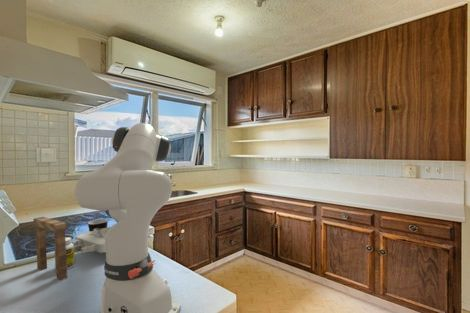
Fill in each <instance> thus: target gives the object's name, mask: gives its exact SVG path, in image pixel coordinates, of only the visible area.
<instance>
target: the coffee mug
mask: <svg viewBox="0 0 470 313" xmlns="http://www.w3.org/2000/svg"><path fill="white" fill-rule="evenodd" d="M108 222H109V221H108V219H107V218H106V219H105V218H99V219H93V220H91V221H89V222H87V225H88V226H87V227H88V232H89V231H94V229H96V228H107V227H108Z"/></svg>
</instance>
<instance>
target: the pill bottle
mask: <svg viewBox="0 0 470 313" xmlns="http://www.w3.org/2000/svg"><path fill="white" fill-rule="evenodd" d="M65 243H66V266H67V270H70V269H72V268H73V267H74V266H75V263H76V262H75V247H74V245H73V244H72V237H69V236H68V237H66V236H65ZM54 266H55V270H56V255H55V254H54Z"/></svg>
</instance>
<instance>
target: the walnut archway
mask: <svg viewBox="0 0 470 313" xmlns="http://www.w3.org/2000/svg"><path fill="white" fill-rule="evenodd" d="M33 226H35V227H34V228H35V248H36V266H37V267H36V268H37V270H39V271H43V270H46V269H47V268H48V260H47V257H48V256H47V239H46V234H47V233H46V230H49V231H52V232H54V256H55V255H56V269H55V273H56V279H57V280H60V281H62V280H65V279H68V272H67V271H68V269H67V266H66V243H65V238H66V231H67V222H64V221H60V220H55V219H53V218H48V217H44V216H41V217H36V218H35V217H34V218H33Z"/></svg>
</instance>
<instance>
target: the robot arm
mask: <svg viewBox="0 0 470 313" xmlns="http://www.w3.org/2000/svg"><path fill="white" fill-rule="evenodd" d="M111 144H112V149H113V150H114V151H115V152H116V154H115V156H114V157H112V158H111V159H110V160H108V161H107V162H106V163H104V165H102V166H100V167H98V168H97V169H95V170H93V171H90V172H88V173H85V174H83V175H81V177H80V178H79V179H78V180H77V182H76V184H75V187H74V192H73V193H74V199H75V201H76V203H77V204H78V205H79V207H80V208H83V209H87V210H95V211H105V214H106V215H107V216H108V217H109V218H111V219H113V220H114V221H115V222H116V223H115V224H113V225H111V226H107V228H96V229H94V231H89V230H88V231H87V232H84V233H80V234H77V235H76V236H75V238H74V241H73V242H72V241H71V243H72V244H73V245H74V248H75V247H77V246H78V247H79V246H80V247H81V248H80V253H83V254H85V253H88V252H89V253H90V252H97V253H100V254H101V253H103V254H104V253H105V260H104V265H103V267H104V268H103V270H104V277H105V279H104V280H105V281H104V282H103V285H102V288H101V293H100V308H99V309H100V312H99V313H180V312H181V308H182V306H181V303H180V302H179V301H177V300H176V299H174V298H172V292H171V288H170V286H169V285H168V281H167V278H162V277H161V276H160V275H159V274H158V272H157V271H156V270H155V269H154V265H155V264H156V263H155V261H156V260H154V259H153V260H152V257H151V255H150V253H149V230H150V226H151V222H152V220H153V218H154V216H156V213H157V212H158V211H159V210H160V209H162V207H164V206H165V205H166V204H167V203H168V202H169V200H170V198H171V196H172V192H173V184H172V180H171V178H170V177H169V176H168V174H167V173H166V172H164V171H158V170H153V166H154V161H155V162H163V161H166V160H167V158H168V157H169V156H170V153H171V151H172V145H171V141H170V139H169V138H168V137H166V136H164V135H159V134H157V132H156V130H155V128H154V127H153V126H152V125H151V124H149V123H146V122H138V123H136V124H134V125H132V127H131V128H129V127H126V126H124V127H123V126H122V127H119V128H117V129H116V130H115V131H114V133H113V135H112V136H111Z"/></svg>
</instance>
